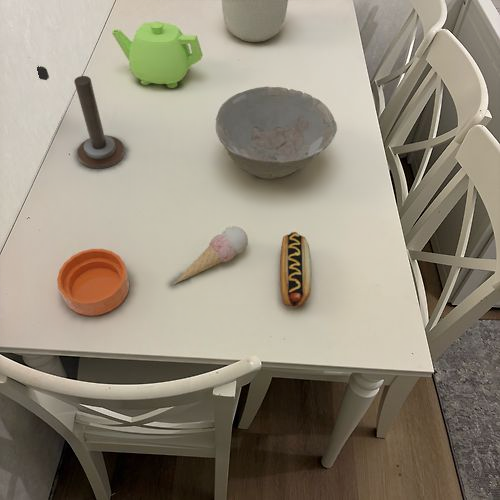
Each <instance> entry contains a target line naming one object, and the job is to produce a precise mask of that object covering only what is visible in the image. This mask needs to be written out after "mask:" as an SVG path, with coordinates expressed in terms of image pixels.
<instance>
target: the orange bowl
mask: <svg viewBox="0 0 500 500" xmlns="http://www.w3.org/2000/svg"><path fill="white" fill-rule="evenodd" d="M56 282H57V289H58V290H59V292H60V294H61V296H62V298H63V300H64V302H65V304H66V305H67V307H68V308H69V309H70V310H72V311H74V313H77V314H80V315H84V316H99V315H104V314H106V313H109V312H111V311H112V310H114V309H116V308H117V307H119V306H120V304H122V303H123V302H124V300H125V299H126V298H127V295H128V294H129V290H130V280H129V275H128V272H127V268H126V264H125V262H124V261H123V259H122V257H120V255H118V254H117V253H115V252H113V251H112V250H109V249H104V248H89V249H85V250H82V251H79V252H78V253H75V254H74V255H72V256H71V257H69V258H68V259H67V260H66V261H65V262H63V264H62V266H61V268H60V269H59V271H58V274H57V278H56Z"/></svg>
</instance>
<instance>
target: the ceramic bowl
mask: <svg viewBox="0 0 500 500" xmlns="http://www.w3.org/2000/svg"><path fill="white" fill-rule="evenodd" d="M337 131H338V125H337V121H336V120H335V117H334V115H333V114H332V112H331V110H330V109H329V107H328V106H327V105H326V104H325V103H324V102H322V101H321V100H320V99H318V98H316V97H315V96H314V97H313V96H312V94H309V93H306V92H303V91H301V90H296V89H293V88H289V89H288V88H287V87H282V86H261V87H254V88H250V89H247V90H244V91H241V92H238V93H236V94H234V95H232V96H230V97H229V98H228V99H226V100H225V101H224V102H223V103H222V104H221V105H220V107H219V109H218V112H217V115H216V118H215V132H216V135H217V138H218V140H219V141H220V143H221V144H222V146H223V148H224V149H225V151H227V154H228V155H229V157H230V158H231V160H233V162H234V163H235V164H236V165H238V166H239V168H241V169H242V170H244V171H245V172H247V173H249V174H251V175H253V176H255V177H257V178H259V179H260V178H261V179H264V180H272V179H279V178H283V177H286V176H289V175H290V174H292V173H294V172H296V171H297V170H299V169H301V168H303V167H305V166H306V165H308V164H309V163H310V162H312V160H313V159H314V158H315V157H316V156H318V155H319V154H320V153H321V152H322V151H324V150H325V149H326V148H328V146H330V145H331V143H332V142H333V139H334V138H335V136H336V134H337Z"/></svg>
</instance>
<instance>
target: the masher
mask: <svg viewBox="0 0 500 500" xmlns="http://www.w3.org/2000/svg"><path fill="white" fill-rule="evenodd" d="M73 81H74V86H75V90H76V93H77V97H78V101H79V105H80V107H81V111H82V115H83V118H84V121H85V127H86V129H87V130H86V131H87V133H88V137H89V138H87V139H88V140H87V139H86V140H87V141H86V142H85V144H84V150H85V153H86V155H87V156H88V157H90V158H92V159H97V160H100V159H105V158H108V157H110V156H111V155H113V154H114V152H115V150H116V146H115V142H114V140H113V139H112V138H111V137H108V136H109V135H106V136H104V135H105V131H104V128H103V124H102V119H101V115H100V112H99V107H98V104H97V103H98V102H97V100H96V99H97V98H96V95H95V91H94V87H93V83H92V80H91V77H89V76H87V75H80V76H77V77H76V78H74V80H73Z"/></svg>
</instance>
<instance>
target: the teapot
mask: <svg viewBox="0 0 500 500" xmlns="http://www.w3.org/2000/svg"><path fill="white" fill-rule="evenodd" d="M121 30H122V29H113V30H112V31H111V34H112V35H113V37H114V39H115V40H116V42H117V44H118V46H119V48H120V49H121V51H122V52H123V54H124V56H125V57H126V59H127V61H128V62H129V64H128V65H129V68H130V70H131V73H132V74H133V75H134V76H135V77H136V78H138V79H139V80H140V83H141V84H142V85H144V86H147V85H151V84H157V85H166V87H167V88H169V89H174V88H177V87H178V82H180V81H182V80H183V79H184V78H185V76H186V75H187V73H188V71H189V69H190V68H191V66H194V65H195V64H197V63H198V62H199V61H201V60H202V59H203V56H204V54H203V52H202V48H201V45H200V41H199V38H198V35H196V34H183V32H182V31H181V29H180V28H179V27H178V26H177V25H175V24H172V23H167V22H162V21H150V22H145V23H142V24H141V25H140V26H139V27H138V28H137V30H136V32H135V34H134V36H133V39H130V38H128V36H127V35H126V34H125V33H124V32H122V31H121Z"/></svg>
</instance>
